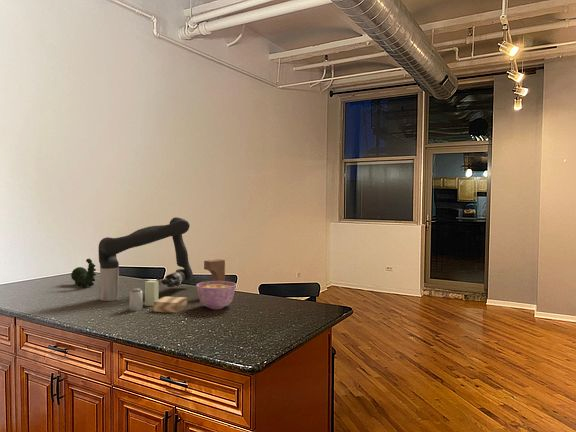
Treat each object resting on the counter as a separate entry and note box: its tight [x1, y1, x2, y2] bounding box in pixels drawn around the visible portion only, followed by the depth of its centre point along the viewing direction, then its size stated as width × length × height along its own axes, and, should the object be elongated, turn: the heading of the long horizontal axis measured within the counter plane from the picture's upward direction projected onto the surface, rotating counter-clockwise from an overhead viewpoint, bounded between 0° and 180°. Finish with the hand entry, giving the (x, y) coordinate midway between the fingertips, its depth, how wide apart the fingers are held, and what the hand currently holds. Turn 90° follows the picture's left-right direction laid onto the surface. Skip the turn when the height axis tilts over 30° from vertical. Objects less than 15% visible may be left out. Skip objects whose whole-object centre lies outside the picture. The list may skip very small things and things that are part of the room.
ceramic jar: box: [129, 287, 144, 312], centre depth 210 cm, size 6×6×10 cm
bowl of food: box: [195, 280, 237, 310], centre depth 216 cm, size 20×20×12 cm
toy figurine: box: [71, 258, 97, 288], centre depth 267 cm, size 9×19×25 cm
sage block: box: [144, 279, 160, 307], centre depth 220 cm, size 5×5×12 cm
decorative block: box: [203, 258, 226, 281], centre depth 244 cm, size 11×6×20 cm, turn 136°
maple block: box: [153, 296, 188, 313], centre depth 212 cm, size 12×12×5 cm
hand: (162, 285), depth 232 cm, fingers open, 8 cm apart
